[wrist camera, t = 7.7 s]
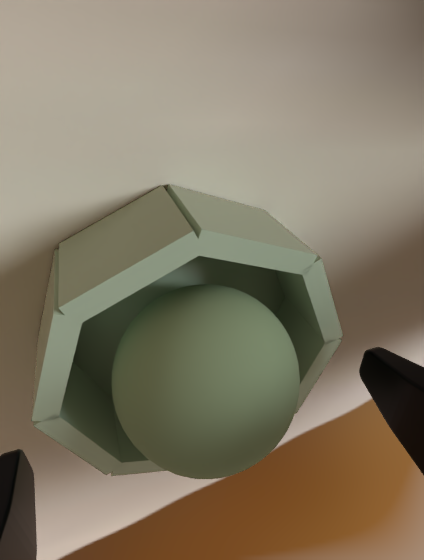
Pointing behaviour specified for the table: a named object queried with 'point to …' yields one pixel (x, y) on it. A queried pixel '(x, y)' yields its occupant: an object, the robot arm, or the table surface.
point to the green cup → (152, 284)
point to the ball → (205, 381)
